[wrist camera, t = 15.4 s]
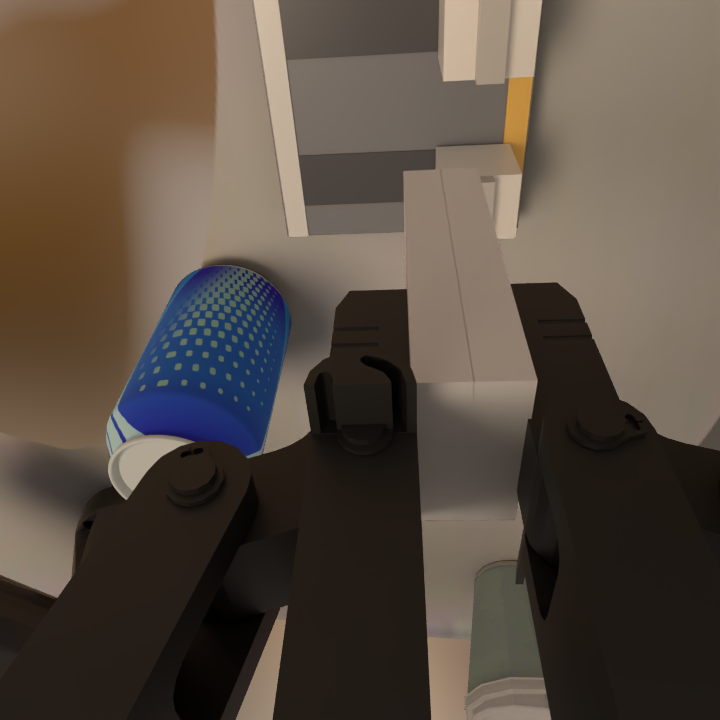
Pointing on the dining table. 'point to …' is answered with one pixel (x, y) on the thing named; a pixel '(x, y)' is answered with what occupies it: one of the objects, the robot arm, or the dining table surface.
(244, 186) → the dining table surface
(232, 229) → the dining table surface
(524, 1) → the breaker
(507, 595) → the disposable coffee cup
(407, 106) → the panel
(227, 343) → the beer can
